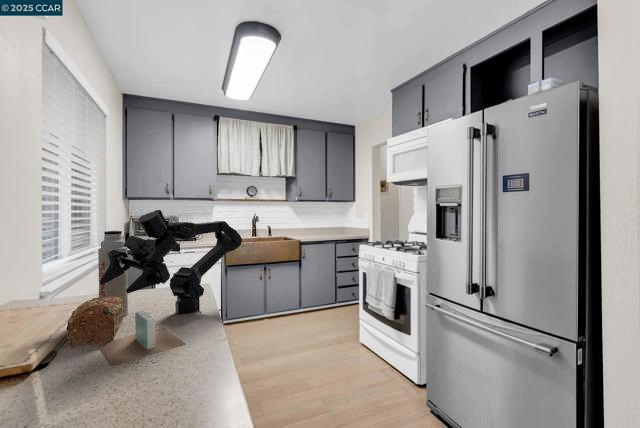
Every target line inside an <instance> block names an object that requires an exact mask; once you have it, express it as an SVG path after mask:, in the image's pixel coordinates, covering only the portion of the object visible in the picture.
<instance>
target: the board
mask: <svg viewBox="0 0 640 428" xmlns="http://www.w3.org/2000/svg"><path fill="white" fill-rule="evenodd" d="M95 344H96V346H97V348H98V349H99V351H100V352H101V354H102V355H103V358H105V360H106V361H107V363H108V365H109V366H110V367H114V366H118V365H120V364H121V365H122V364H124V363H127V362H131V361H134V360H137V359H141V358H145V357H148V356H151V355H155V354H157V353H161V352H165V351H168V350H171V349H174V348H177V347H181V346H185V345H187V343H186V342H184V341H183V340H182V339H181V338H179V337H178V336H177V335H175V334H173V333H172V331H170V330H168V329H167V328H166V327H165V326H164V327H160V328H155V347H154V348H151V349H147V350H146V349H145V348H144V347H143V346H142V345H141V344H140V343H139V342H138V341H137V340H136V333H135V334H131V335H128V336H123V337H119V338H116V339H115V338H114V339H113V340H110V341H103V342H97V343H95Z"/></svg>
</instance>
